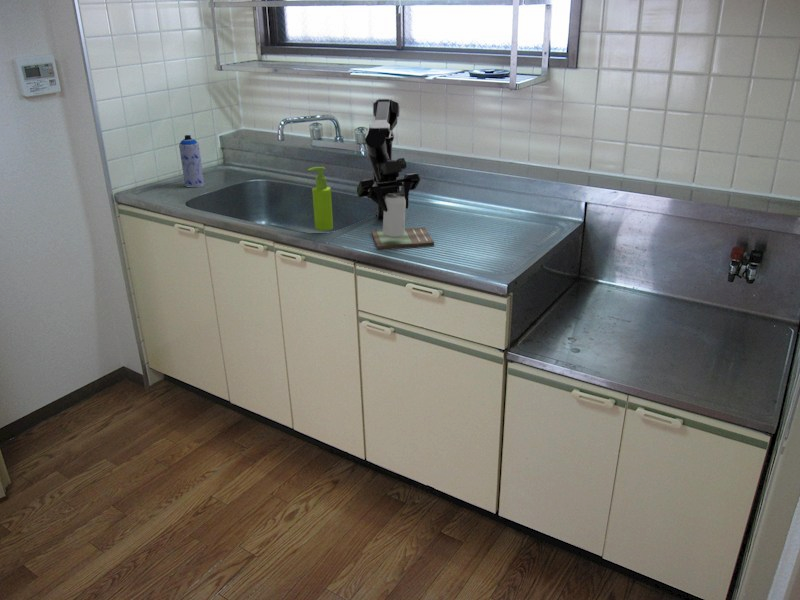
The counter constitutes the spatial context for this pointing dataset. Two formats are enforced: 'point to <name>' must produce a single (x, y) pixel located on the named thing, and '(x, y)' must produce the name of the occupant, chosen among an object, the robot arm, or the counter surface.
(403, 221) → the can
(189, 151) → the aerosol can
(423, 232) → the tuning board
